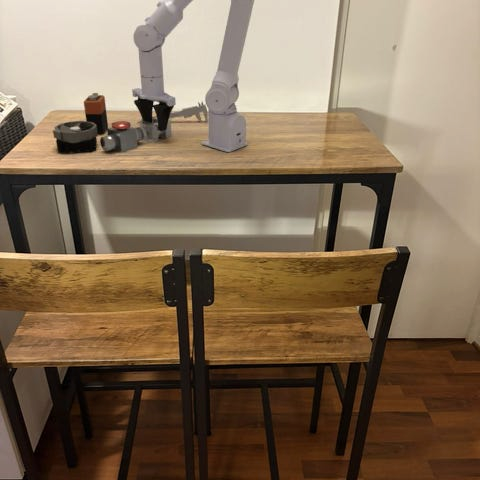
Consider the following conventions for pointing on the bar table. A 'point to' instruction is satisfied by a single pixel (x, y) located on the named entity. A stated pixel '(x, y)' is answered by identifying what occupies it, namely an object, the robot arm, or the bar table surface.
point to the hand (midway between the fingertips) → (155, 128)
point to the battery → (96, 112)
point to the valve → (121, 137)
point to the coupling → (154, 130)
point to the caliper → (188, 112)
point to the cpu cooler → (76, 137)
